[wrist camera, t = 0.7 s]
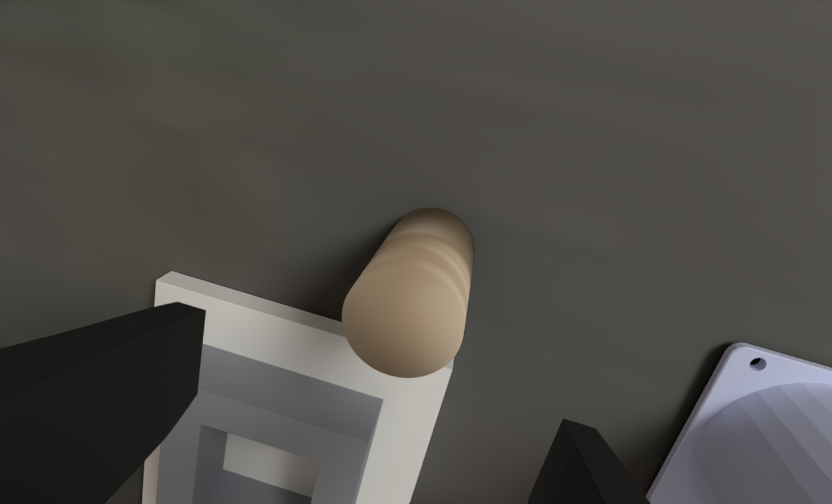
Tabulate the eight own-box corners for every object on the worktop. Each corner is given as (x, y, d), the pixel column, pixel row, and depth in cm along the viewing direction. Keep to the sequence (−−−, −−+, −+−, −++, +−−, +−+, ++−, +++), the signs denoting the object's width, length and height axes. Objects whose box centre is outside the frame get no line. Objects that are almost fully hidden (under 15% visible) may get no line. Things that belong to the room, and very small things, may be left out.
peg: (485, 221, 18) (479, 287, 12) (461, 299, 19) (445, 392, 13) (399, 196, 18) (355, 250, 12) (380, 276, 19) (331, 357, 14)
